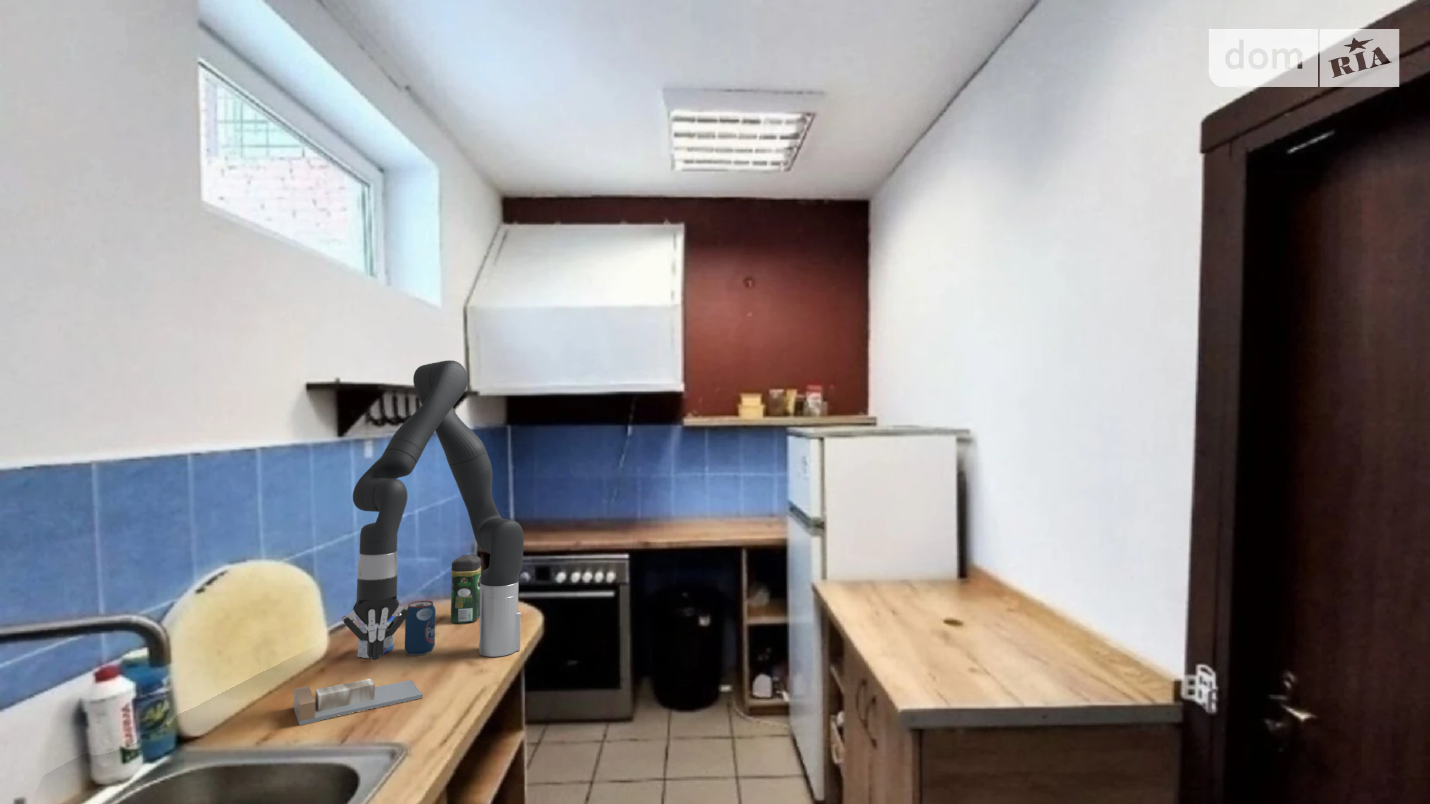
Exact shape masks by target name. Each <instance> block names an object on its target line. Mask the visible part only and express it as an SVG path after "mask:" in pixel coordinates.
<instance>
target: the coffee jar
mask: <svg viewBox="0 0 1430 804" xmlns="http://www.w3.org/2000/svg"><path fill="white" fill-rule="evenodd" d="M481 563H482V560H481V557H480V556H478V555H477V554H462V555H461V556H459V557H457V558H455V559H454V560H453V561H452V562H451V590H450V591H451V592H450V593H451V597H450V598H451V600H450V601H451V603H450V622H451V623H454V624H459V625H460V624H461V625H462V624H463V625H464V624H467V623H475V622H476V621H477V620H479V619H480V580H481V573H482V564H481Z"/></svg>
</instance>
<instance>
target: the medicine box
mask: <svg viewBox="0 0 1430 804" xmlns="http://www.w3.org/2000/svg"><path fill="white" fill-rule="evenodd" d="M395 616H396V615H395V614H393V615H392V616H391V618H390V619H389V620H388V621H387V624H386V628H387V627H388V626H389V624H390V623H391V622H392V620H393V619H394V618H395ZM357 627H358V628H359V629H360V630H361V631H362V632H363V633H366V624H364V623H363V622H362V621H360V622H358V625H357ZM375 639H376V624H375ZM394 649H395V633H394V634H393V635H392V636H389V637H387V638H385V639H384V648H383V655H384V654H386V653H388V652H390V651H392V650H394ZM387 651H388V652H387ZM385 652H386V653H385ZM357 657H358V658H359V657H362V658H361V659H369V657H368V655H367V641H361V640H360V639H359V638H358V637H357Z"/></svg>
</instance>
